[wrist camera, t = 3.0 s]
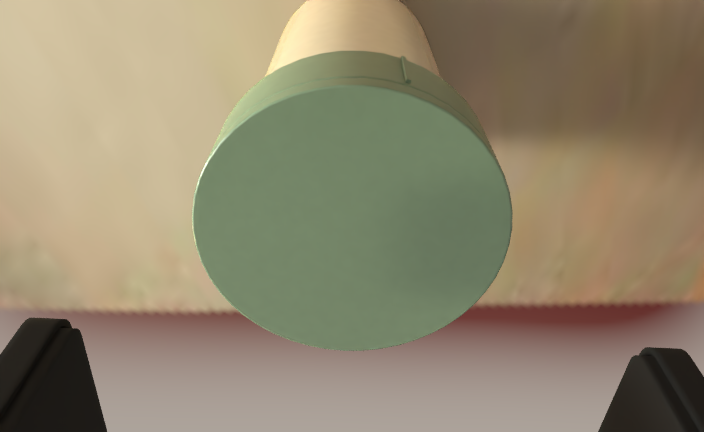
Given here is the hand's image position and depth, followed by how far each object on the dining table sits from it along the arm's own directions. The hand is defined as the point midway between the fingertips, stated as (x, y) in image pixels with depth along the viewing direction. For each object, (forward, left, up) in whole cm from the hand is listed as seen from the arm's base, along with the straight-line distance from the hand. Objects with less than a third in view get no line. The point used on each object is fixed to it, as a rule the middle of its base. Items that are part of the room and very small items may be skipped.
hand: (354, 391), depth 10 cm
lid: (0, 0, -5) cm, 5 cm away
